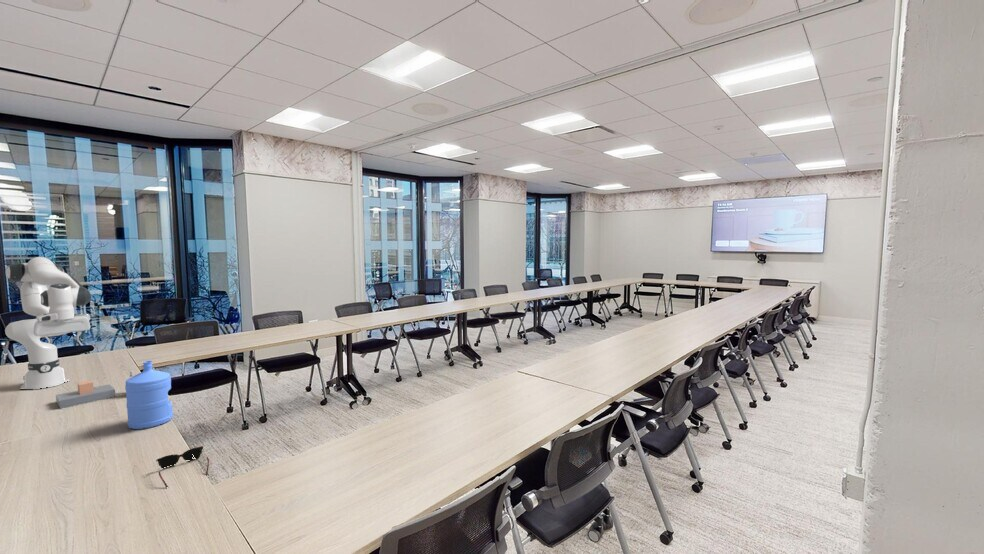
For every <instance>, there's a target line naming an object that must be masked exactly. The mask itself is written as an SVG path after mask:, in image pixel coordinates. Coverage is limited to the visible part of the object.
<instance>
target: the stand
mask: <svg viewBox="0 0 984 554" xmlns="http://www.w3.org/2000/svg"><path fill="white" fill-rule="evenodd" d="M93 391H94V392H90V393H85V394H79V393H78V390H75V391H74V390H73V391H69V392H64V393H60V394H55V402H56V403H55V404H57V406H58V407H59V409H60V410H61V408H62V409H65V408H71V407H74V405H75V406H80V405H83V404H87V403H88V402H89V403H94V402H98V401H102V400H101V399H103V400H106V399H105V398H107V399H110V397H112V398H115V397H116V389H115V388H114V387H113V386H112V385H111V384H103V385H101V386H100V385H99V386H95V387H94V386H93ZM114 396H115V397H114ZM97 400H98V401H97ZM93 401H94V402H93ZM89 403H88V404H89ZM79 404H80V405H79ZM70 406H71V407H70Z"/></svg>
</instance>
